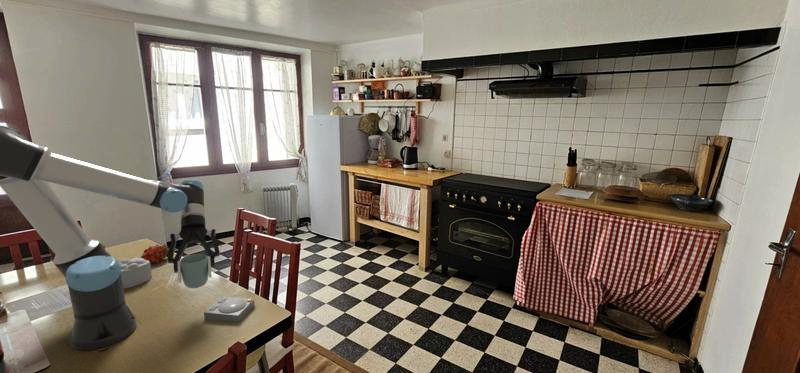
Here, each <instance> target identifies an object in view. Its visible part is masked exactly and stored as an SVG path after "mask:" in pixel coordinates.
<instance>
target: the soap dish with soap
mask: <svg viewBox="0 0 800 373" xmlns="http://www.w3.org/2000/svg"><path fill="white" fill-rule="evenodd" d="M254 307H255V299H254V298H245V297H244V298H243V297H233V296H221V297H220V298H219V299H218V300H216V301H215V302H214V303H213V304H211V305H210V307H208V308H207V309H206V310H205V311H204V312H203V319H204V320H210V321H220V322H221V321H222V322H231V323H234V322H235V323H239V322H240V321H241V320H243V319H244V317H245V316H247V314H248V313H249V312H250V311H251V310H252V309H253V308H254Z"/></svg>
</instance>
